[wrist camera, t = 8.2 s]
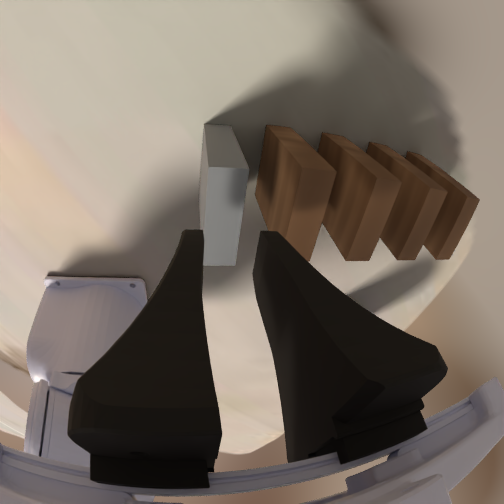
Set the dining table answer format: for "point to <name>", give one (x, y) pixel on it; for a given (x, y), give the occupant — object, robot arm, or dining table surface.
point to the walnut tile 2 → (293, 187)
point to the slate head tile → (221, 194)
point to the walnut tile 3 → (356, 197)
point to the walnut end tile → (446, 210)
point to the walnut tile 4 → (408, 204)
